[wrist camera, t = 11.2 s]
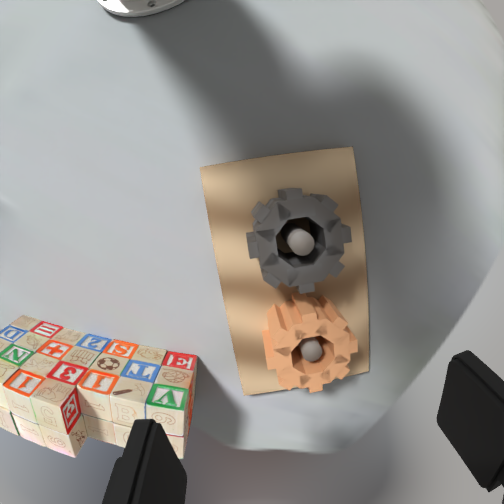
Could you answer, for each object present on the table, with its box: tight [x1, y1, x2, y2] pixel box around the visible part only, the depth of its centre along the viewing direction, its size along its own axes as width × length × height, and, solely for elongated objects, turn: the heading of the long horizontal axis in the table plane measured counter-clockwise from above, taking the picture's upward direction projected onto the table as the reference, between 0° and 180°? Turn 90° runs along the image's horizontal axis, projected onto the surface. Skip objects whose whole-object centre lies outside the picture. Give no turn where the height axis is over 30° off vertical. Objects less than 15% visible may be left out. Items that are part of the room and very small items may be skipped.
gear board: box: [200, 147, 369, 396], centre depth 26 cm, size 22×13×7 cm, turn 9°
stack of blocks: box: [0, 315, 197, 459], centre depth 24 cm, size 21×6×12 cm, turn 82°
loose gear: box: [262, 292, 358, 393], centre depth 26 cm, size 7×7×5 cm
